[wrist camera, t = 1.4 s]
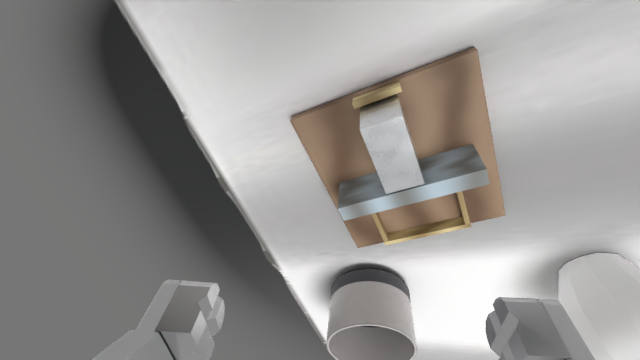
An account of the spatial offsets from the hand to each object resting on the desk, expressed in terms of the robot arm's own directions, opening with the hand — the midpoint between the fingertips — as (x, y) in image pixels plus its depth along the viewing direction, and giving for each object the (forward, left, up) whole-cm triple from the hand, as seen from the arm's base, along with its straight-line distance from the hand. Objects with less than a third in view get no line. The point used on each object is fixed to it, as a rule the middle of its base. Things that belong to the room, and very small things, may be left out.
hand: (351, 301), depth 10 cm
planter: (+12, +37, -29) cm, 48 cm away
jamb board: (0, +15, -29) cm, 32 cm away
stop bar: (0, +9, -27) cm, 29 cm away
